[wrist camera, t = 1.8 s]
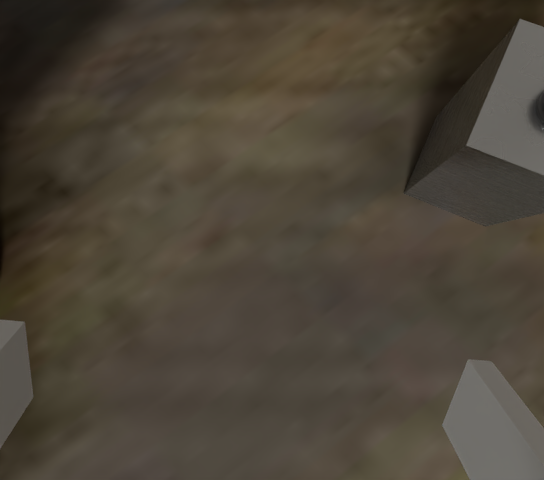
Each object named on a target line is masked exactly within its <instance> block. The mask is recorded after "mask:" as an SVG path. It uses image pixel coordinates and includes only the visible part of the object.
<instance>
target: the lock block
mask: <svg viewBox="0 0 544 480" xmlns="http://www.w3.org/2000/svg"><path fill="white" fill-rule="evenodd" d="M404 194H406V195H409V196H411V197H414V198H416V199H418V200H421V201H423V202H426V203H428V204H431V205H433V206H436V207H438V208H441V209H443V210H446V211H448V212H451V213H453V214H456V215H458V216H460V217H463V218H465V219H468V220H470V221H473V222H475V223H478V224H480V225H483V226H489V225H494V224H498V223H502V222H507V221H511V220H516V219H520V218H524V217H529V216H533V215H537V214H542V213H544V27H542V26H539V25H536V24H533V23H531V22H528V21H525V20H522V19H519V20H518V22H517V23H516V24H515V25H514V26H513V27H512V29H511V30H510V31H509V32H508V33H507V35H506V36H505V37H504V38H503V39H502V40H501V42H500V43H499V44H498V45H497V46H496V47H495V49H494V50H493V51H492V52H491V53H490V54H489V56H488V57H487V58H486V59H485V60H484V61H483V63H482V64H481V65H480V66H479V67H478V69H477V70H476V71H475V72H474V73H473V74H472V76H471V77H470V78H469V79H468V80H467V81H466V83H465V84H464V85H463V86H462V87H461V88H460V90H459V91H458V92H457V93H456V94H455V95H454V97H453V98H452V99H451V100H450V101H449V103H448V104H447V105H446V106H445V107H444V108H443V110H442V111H441V112H440V113H439V114H438V115H437V117H436V119H435V121H434V124H433V126H432V128H431V131H430V133H429V135H428V138H427V140H426V142H425V145H424V147H423V149H422V152H421V154H420V156H419V159H418V161H417V163H416V166H415V168H414V170H413V173H412V175H411V177H410V180H409V182H408V184H407V187H406V189H405V191H404Z"/></svg>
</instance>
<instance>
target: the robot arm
mask: <svg viewBox="0 0 544 480" xmlns="http://www.w3.org/2000/svg"><path fill="white" fill-rule="evenodd" d="M32 398H33V390H32V382H31V373H30V364H29V355H28V347H27V338H26V329H25V322H20V321H9V320H0V448H1V447H2V445H3V443H4V442H5V440H6V439H7V437H8V436H9V434H10V433H11V431H12V429H13V428H14V426H15V425H16V423H17V422H18V420H19V419H20V417H21V415H22V414H23V412H24V411H25V409H26V408H27V406H28V404H29V403H30V401H31V400H32ZM442 426H443V428H444V430H445V432H446V434H447V436H448V438H449V440H450V442H451V444H452V445H453V447H454V449H455V451H456V453H457V455H458V457H459V459H460V461H461V463H462V465H463V467H464V469H465V471H466V473H467V475H468V477H469V479H470V480H544V428H543V427H542V425H541V424H540V423H539V421H538V420H537V419H536V418H535V416H534V415H533V414H532V413H531V411H530V410H529V409H528V407H527V406H526V405H525V404H524V402H523V401H522V400H521V398H520V397H519V396H518V395H517V393H516V392H515V391H514V389H513V388H512V387H511V386H510V384H509V383H508V382H507V381H506V379H505V378H504V377H503V375H502V374H501V373H500V372H499V370H498V369H497V368H496V366H495V365H494V364H493V363H492V361H481V360H470V359H468V361H467V364H466V366H465V369H464V371H463V374H462V376H461V379H460V381H459V384H458V386H457V389H456V392H455V394H454V397H453V399H452V402H451V404H450V407H449V409H448V412H447V414H446V417H445V419H444V422H443V424H442Z"/></svg>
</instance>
